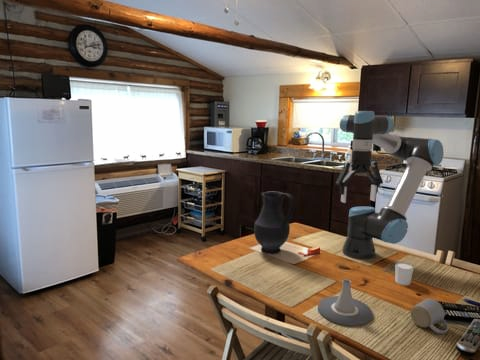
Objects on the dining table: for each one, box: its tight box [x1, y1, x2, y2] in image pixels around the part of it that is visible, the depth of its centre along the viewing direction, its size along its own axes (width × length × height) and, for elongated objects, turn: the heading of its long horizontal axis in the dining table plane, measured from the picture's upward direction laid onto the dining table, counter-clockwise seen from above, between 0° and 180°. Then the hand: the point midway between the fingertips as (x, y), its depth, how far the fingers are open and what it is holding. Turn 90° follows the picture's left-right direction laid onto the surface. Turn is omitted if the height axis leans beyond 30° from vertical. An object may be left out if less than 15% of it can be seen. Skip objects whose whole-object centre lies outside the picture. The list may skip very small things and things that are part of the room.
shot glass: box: [394, 262, 414, 286], centre depth 152 cm, size 7×7×7 cm
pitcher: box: [253, 190, 296, 255], centre depth 181 cm, size 17×21×30 cm
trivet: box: [317, 295, 373, 327], centre depth 129 cm, size 18×18×1 cm
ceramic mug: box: [410, 297, 449, 335], centre depth 121 cm, size 11×8×8 cm
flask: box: [334, 279, 356, 313], centre depth 128 cm, size 7×7×10 cm
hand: (358, 201), depth 155 cm, fingers open, 13 cm apart
